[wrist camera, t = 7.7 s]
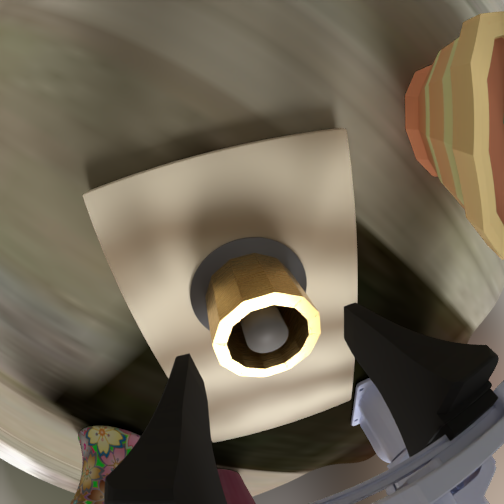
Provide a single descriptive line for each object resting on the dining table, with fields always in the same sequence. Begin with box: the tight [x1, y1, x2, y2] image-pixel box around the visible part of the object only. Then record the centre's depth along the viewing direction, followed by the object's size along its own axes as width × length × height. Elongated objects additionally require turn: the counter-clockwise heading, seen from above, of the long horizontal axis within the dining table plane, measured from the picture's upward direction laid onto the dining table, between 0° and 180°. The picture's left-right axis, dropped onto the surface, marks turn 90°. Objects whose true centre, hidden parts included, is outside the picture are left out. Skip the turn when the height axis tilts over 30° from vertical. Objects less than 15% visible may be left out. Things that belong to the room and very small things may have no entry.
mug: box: [71, 426, 141, 504], centre depth 17 cm, size 12×9×11 cm
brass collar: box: [205, 253, 321, 377], centre depth 14 cm, size 5×5×4 cm
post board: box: [83, 128, 358, 443], centre depth 17 cm, size 24×14×5 cm, turn 11°
